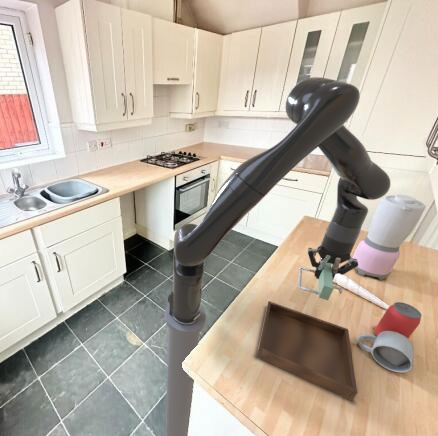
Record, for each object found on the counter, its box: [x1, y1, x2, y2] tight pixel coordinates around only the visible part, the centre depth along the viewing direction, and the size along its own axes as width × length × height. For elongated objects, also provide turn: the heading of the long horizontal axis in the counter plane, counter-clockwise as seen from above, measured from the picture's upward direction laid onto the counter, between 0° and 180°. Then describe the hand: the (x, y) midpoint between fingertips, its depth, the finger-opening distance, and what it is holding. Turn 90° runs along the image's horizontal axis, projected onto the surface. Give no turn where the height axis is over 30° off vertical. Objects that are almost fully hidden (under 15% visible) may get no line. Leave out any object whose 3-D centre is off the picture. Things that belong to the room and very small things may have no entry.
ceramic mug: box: [356, 331, 415, 373], centre depth 66 cm, size 11×8×8 cm
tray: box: [256, 300, 358, 402], centre depth 70 cm, size 22×20×4 cm
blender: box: [351, 194, 426, 281], centre depth 92 cm, size 16×12×32 cm
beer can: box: [374, 301, 423, 339], centre depth 69 cm, size 7×7×12 cm
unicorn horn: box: [333, 274, 391, 310], centre depth 86 cm, size 5×24×5 cm, turn 27°
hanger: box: [297, 263, 343, 301], centre depth 78 cm, size 12×14×5 cm
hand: (322, 278), depth 81 cm, fingers closed on hanger, 2 cm apart
